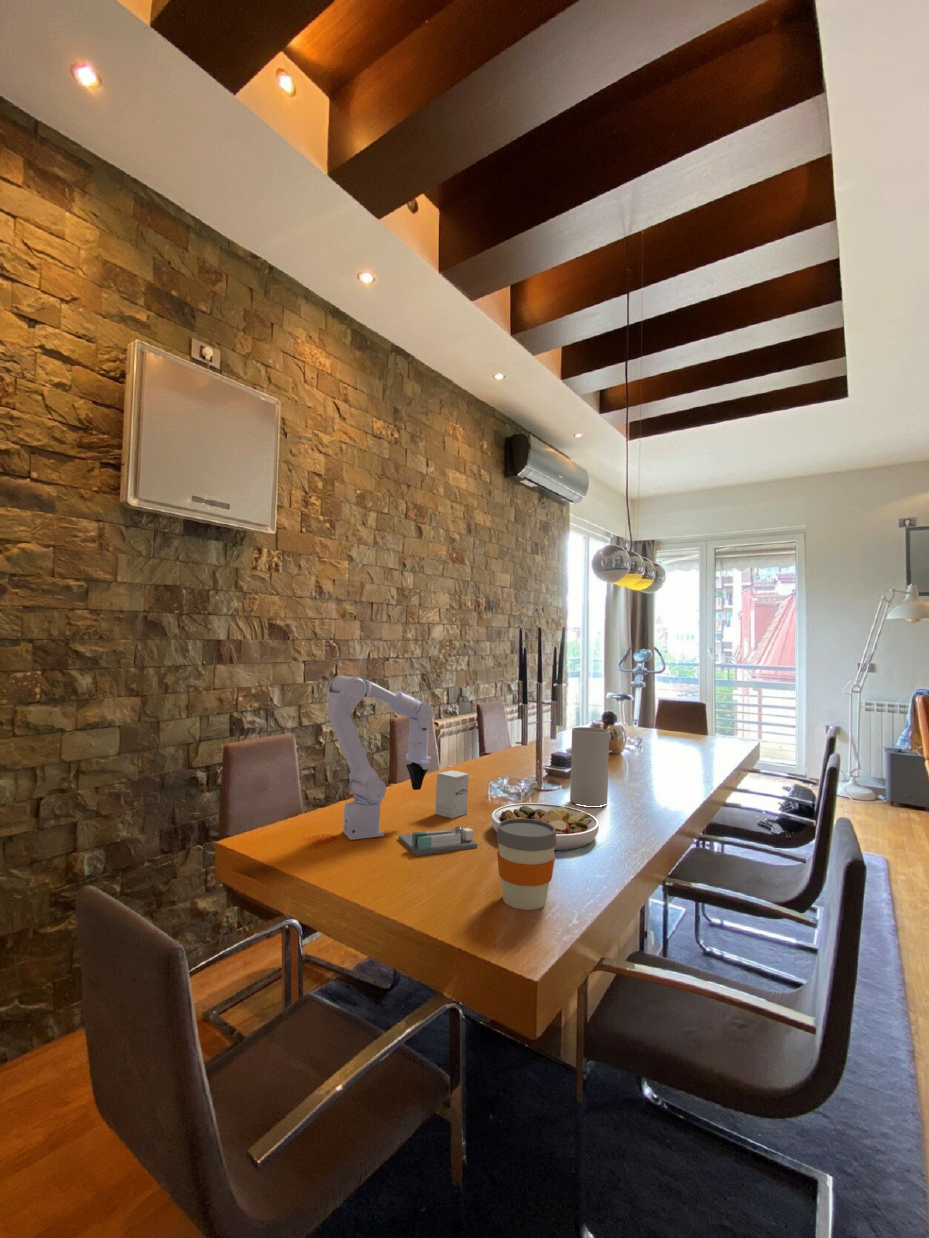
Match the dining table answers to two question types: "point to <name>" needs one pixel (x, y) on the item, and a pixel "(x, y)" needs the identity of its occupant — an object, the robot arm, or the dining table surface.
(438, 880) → the dining table surface
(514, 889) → the reusable coffee cup
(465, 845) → the slate board
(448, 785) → the supplement box
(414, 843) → the tong arm
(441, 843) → the tongs fixed
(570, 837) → the bowl
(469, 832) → the tab
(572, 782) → the cylinder vase
